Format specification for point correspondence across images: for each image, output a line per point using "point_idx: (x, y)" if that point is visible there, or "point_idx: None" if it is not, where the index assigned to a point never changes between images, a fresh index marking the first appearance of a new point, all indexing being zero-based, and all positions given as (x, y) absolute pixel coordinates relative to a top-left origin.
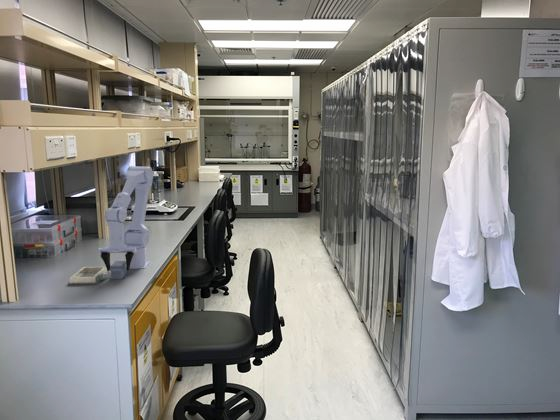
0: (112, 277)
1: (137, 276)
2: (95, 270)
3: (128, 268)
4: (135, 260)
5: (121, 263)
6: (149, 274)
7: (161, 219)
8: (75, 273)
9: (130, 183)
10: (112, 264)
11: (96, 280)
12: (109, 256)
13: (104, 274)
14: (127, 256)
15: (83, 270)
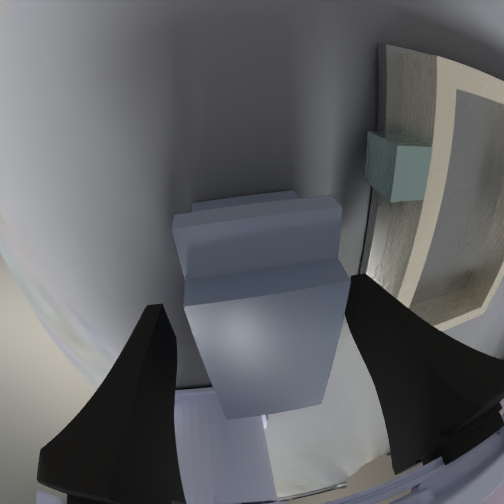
0: (286, 199)
1: (100, 285)
2: (430, 308)
3: (139, 323)
4: (206, 434)
5: (231, 376)
6: (57, 322)
7: (290, 496)
8: None
9: None
10: (335, 335)
11: (408, 85)
12: (394, 425)
13: (374, 269)
14: (80, 461)
15: (486, 279)
